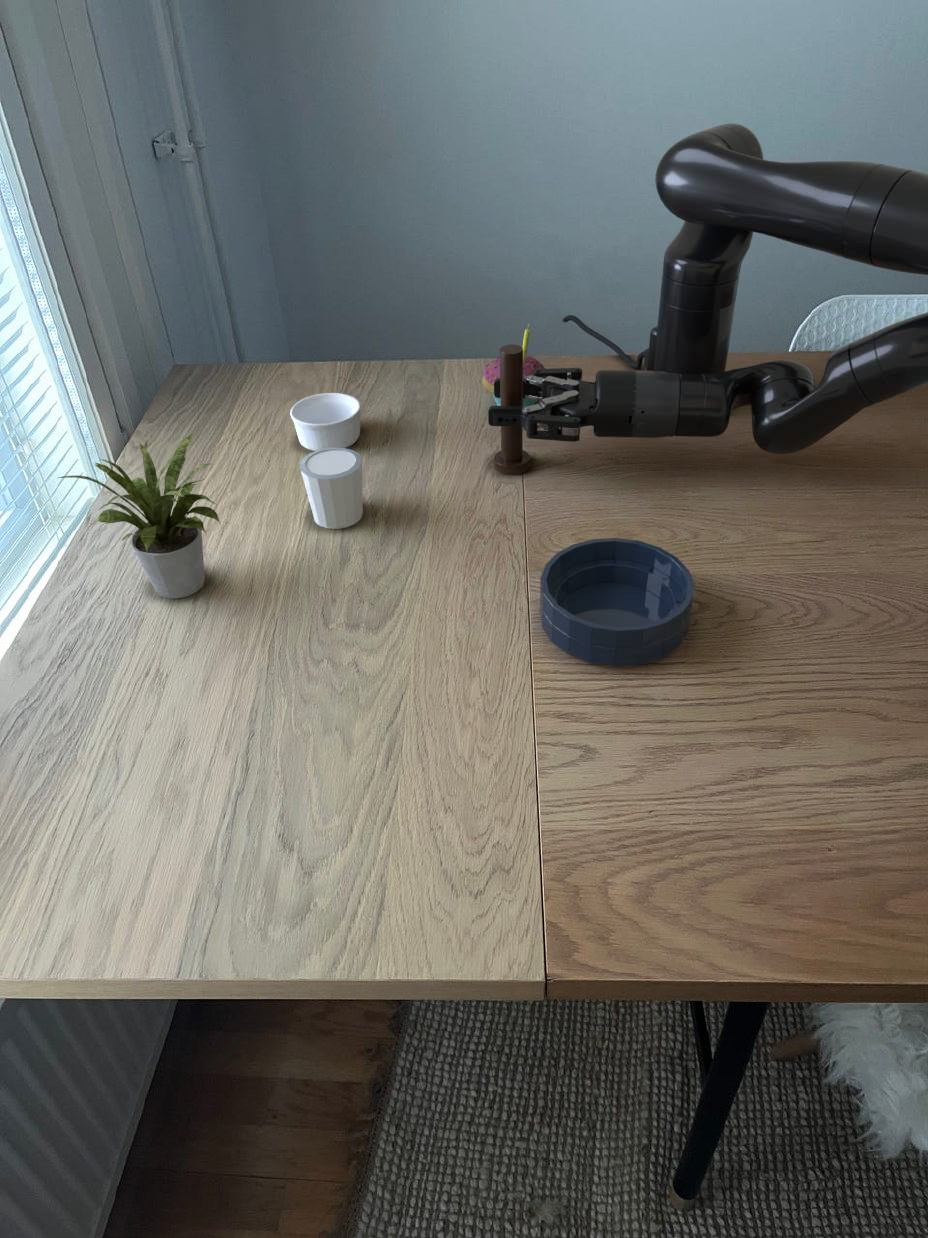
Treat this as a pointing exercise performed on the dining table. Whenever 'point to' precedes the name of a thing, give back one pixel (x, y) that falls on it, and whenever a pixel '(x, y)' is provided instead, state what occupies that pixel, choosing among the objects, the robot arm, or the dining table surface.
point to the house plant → (162, 523)
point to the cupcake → (528, 366)
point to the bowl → (616, 601)
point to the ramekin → (327, 421)
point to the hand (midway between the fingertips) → (491, 401)
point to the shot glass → (334, 486)
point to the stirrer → (511, 394)
